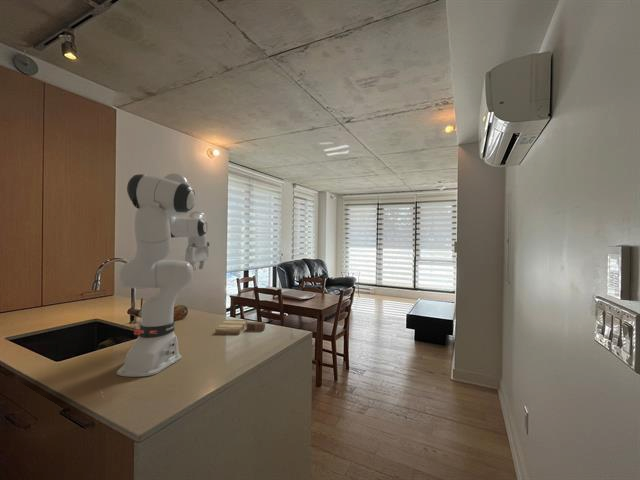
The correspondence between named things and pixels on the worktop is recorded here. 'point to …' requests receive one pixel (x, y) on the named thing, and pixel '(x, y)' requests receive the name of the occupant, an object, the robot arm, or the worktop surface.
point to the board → (231, 327)
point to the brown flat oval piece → (180, 312)
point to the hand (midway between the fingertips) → (197, 270)
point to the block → (255, 326)
